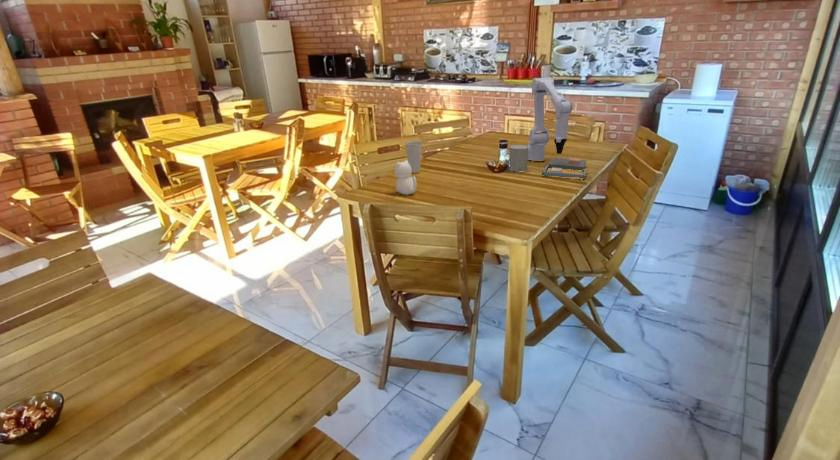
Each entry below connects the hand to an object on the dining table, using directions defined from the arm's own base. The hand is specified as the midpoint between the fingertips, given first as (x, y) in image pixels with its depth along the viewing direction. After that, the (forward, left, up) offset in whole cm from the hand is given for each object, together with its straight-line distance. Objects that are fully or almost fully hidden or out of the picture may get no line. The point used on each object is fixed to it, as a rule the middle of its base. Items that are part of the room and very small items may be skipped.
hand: (559, 153), depth 228 cm
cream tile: (0, -4, -7) cm, 8 cm away
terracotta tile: (+7, +8, -6) cm, 12 cm away
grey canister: (-20, -3, -10) cm, 22 cm away
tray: (+4, -5, -9) cm, 11 cm away
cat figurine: (-59, -56, -10) cm, 82 cm away
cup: (-70, -24, -10) cm, 75 cm away
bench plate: (+4, +9, -9) cm, 13 cm away
